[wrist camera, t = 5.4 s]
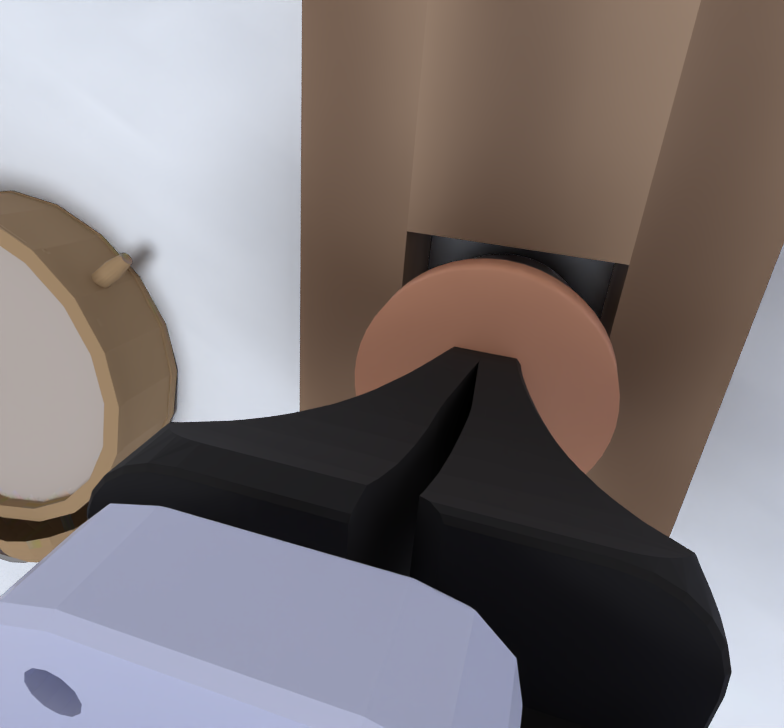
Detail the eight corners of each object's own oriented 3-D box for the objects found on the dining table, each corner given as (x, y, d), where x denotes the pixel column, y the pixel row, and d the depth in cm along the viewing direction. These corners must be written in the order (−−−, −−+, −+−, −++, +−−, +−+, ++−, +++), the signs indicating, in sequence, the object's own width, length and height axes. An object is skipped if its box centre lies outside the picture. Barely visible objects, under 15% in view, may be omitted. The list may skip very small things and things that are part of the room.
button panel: (1112, -818, 8) (1361, -1240, 5) (644, 507, 18) (654, 575, 15) (376, -665, 10) (307, -911, 7) (334, 432, 20) (299, 481, 17)
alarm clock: (153, 291, 16) (48, 662, 21) (237, 270, 21) (134, 579, 26) (-178, 124, 17) (-203, 518, 22) (-27, 139, 22) (-76, 462, 27)
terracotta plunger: (638, 245, 13) (654, 296, 10) (584, 442, 15) (584, 532, 12) (410, 213, 14) (361, 249, 11) (393, 400, 16) (349, 472, 13)
